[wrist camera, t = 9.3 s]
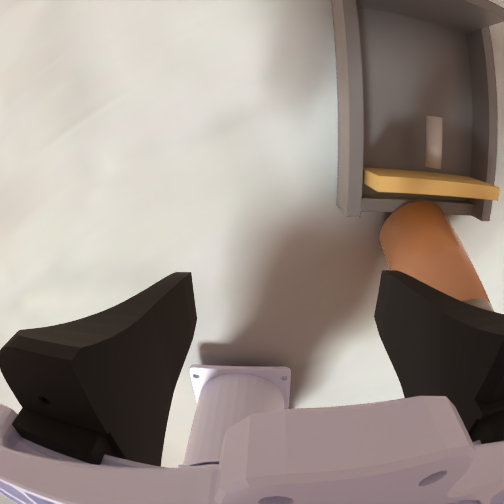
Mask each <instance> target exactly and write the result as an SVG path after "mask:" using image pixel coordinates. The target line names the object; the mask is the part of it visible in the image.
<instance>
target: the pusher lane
mask: <svg viewBox="0 0 504 504" xmlns="http://www.w3.org/2000/svg"><path fill="white" fill-rule="evenodd" d="M331 2H332V13H333V24H334V36H335V51H336V69H337V94H338V184H337V206H338V207H339V208H340V209H341V210H342V211H343V213H344V214H345V215H346V216H347V217H360V215H361V211H367V212H394V211H395V210H397V209H398V208H400V207H402V206H404V205H406V204H409V203H412V202H417V201H428V202H432V203H434V204H436V205H438V206H439V207H440V208H441V209H442V210H443V212H444V214H453V215H471V216H474V217H476V218H477V219H479V220H481V221H489V220H490V213H491V206H492V200H487V199H477V198H466V197H455V196H442V195H428V194H412V193H393V192H377V191H376V190H374V189H372V188H371V187H369V186H367V185H366V184H364V183H362V179H363V167H365V168H383V169H397V170H410V171H422V172H432V173H442V174H451V175H459V176H467V177H471V178H474V179H477V180H480V181H483V182H485V183H488V184H491V185H494V181H495V170H496V155H497V92H496V77H495V67H494V58H493V50H492V43H491V37H490V31H489V26H490V25H493V24H496V23H499V22H502V21H504V8H502V7H501V6H499V5H497V4H495V3H493V2H490V1H488V0H331ZM426 116H434V117H440V118H442V158H441V169H435V168H429V167H425V157H426Z"/></svg>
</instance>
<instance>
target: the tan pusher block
mask: <svg viewBox="0 0 504 504" xmlns="http://www.w3.org/2000/svg"><path fill="white" fill-rule="evenodd" d="M441 158H442V118H440V117H434V116H426V157H425V167H429V168H435V169H441ZM362 183H364V184H366V185H367V186H369V187H371V188H372V189H374V190H376V191H377V192H393V193H412V194H428V195H442V196H455V197H466V198H477V199H487V200H497V201H498V196H499V187H496V186H494V185H491V184H488V183H485V182H483V181H480V180H477V179H474V178H471V177H467V176H459V175H451V174H442V173H432V172H422V171H410V170H397V169H383V168H365V167H363V179H362Z"/></svg>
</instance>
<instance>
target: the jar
mask: <svg viewBox="0 0 504 504" xmlns="http://www.w3.org/2000/svg"><path fill="white" fill-rule="evenodd" d="M379 240H380V244H381V247H382V250H383V253H384V256H385V259H386V262H387V265H388V268H389V270H397V271H400V272H403V273H405V274H407V275H410V276H412V277H414V278H416V279H417V280H419V281H421V282H423V283H425V284H427V285H429V286H431V287H433V288H435V289H437V290H439V291H441V292H443V293H445V294H447V295H449V296H451V297H453V298H455V299H458V300H460V301H462V302H465V303H468V304H470V305H473V306H476V307H479V308H482V309H485V310H488V311H492V312H494V311H493V308H492V306H491V303H490V301H489V299H488V296H487V294H486V292H485V290H484V287H483V285H482V283H481V281H480V279H479V277H478V275H477V273H476V271H475V268H474V266H473V264H472V262H471V260H470V259H469V257H468V255H467V253H466V251H465V249H464V247H463V245H462V243H461V241H460V240H459V238H458V236H457V234H456V232H455V231H454V229H453V227H452V225H451V224H450V222H449V220H448V219H447V217H446V215H445V214H444V212H443V210H442V209H441V208H440V207H439V206H438V205H436V204H434V203H432V202H428V201H417V202H412V203H409V204H406V205H404V206H402V207H400V208H398V209H397V210H395V211H394V212H393V213H392V214H391V215H390V216H389V217H388V218H387V219H386V221H385V222H384V224H383V225H382V228H381V230H380V235H379Z"/></svg>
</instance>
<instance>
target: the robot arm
mask: <svg viewBox="0 0 504 504" xmlns="http://www.w3.org/2000/svg"><path fill="white" fill-rule="evenodd" d="M374 317H375V321H376V325H377V328H378V331H379V335H380V338H381V340H382V342H383V344H384V347H385V349H386V351H387V353H388V356H389V358H390V360H391V362H392V364H393V367H394V369H395V371H396V373H397V376H398V378H399V381H400V383H401V386H402V389H403V393H404V397H405V398H403V399H397V400H390V401H383V402H375V403H367V404H358V405H348V406H336V407H321V408H300V409H288V408H289V395H290V382H291V369H290V368H289V367H285V366H281V367H251V366H215V365H196V364H195V365H191V367H190V369H189V372H190V376H191V381H192V386H193V390H194V395H195V399H196V403H197V408H196V412H195V416H194V420H193V424H192V428H191V433H190V437H189V441H188V445H187V450H186V454H185V458H184V463H183V465H179V466H178V468H166V467H161V458H162V451H163V444H164V438H165V432H166V426H167V421H168V416H169V411H170V406H171V402H172V397H173V393H174V389H175V386H176V383H177V380H178V377H179V375H180V372H181V369H182V367H183V364H184V361H185V359H186V356H187V353H188V351H189V348H190V345H191V342H192V340H193V335H194V331H195V326H196V321H197V315H196V308H195V300H194V292H193V284H192V276H191V272H175V273H173V274H171V275H169V276H167V277H165V278H164V279H162V280H160V281H159V282H157V283H155V284H154V285H152V286H150V287H149V288H147V289H146V290H144V291H142V292H140V293H139V294H137V295H135V296H133V297H131V298H130V299H128V300H126V301H124V302H122V303H120V304H118V305H116V306H114V307H112V308H109V309H107V310H105V311H102V312H100V313H97V314H94V315H91V316H88V317H85V318H82V319H79V320H76V321H72V322H68V323H64V324H59V325H55V326H49V327H42V328H34V329H26V330H19V331H18V332H17V333H16V334H15V335H14V336H13V337H12V338H11V339H10V340H9V341H8V342H7V343H6V344H5V345H4V346H3V347H2V349H1V350H0V369H1V372H2V374H3V376H4V378H5V380H6V382H7V383H8V385H9V387H10V388H11V390H12V392H13V393H14V395H15V397H16V398H17V400H18V401H19V403H20V404H21V406H22V407H23V408H22V410H21V411H20V412H19V414H17V413H16V412H15V411H14V410H12V409H11V408H9V407H7V406H5V405H3V404H0V494H2V495H3V496H5V497H6V498H8V499H10V500H11V501H13V502H15V503H16V504H504V314H500V313H496V312H492V311H488V310H485V309H482V308H479V307H476V306H473V305H470V304H468V303H465V302H462V301H460V300H458V299H455V298H453V297H451V296H449V295H447V294H445V293H443V292H441V291H439V290H437V289H435V288H433V287H431V286H429V285H427V284H425V283H423V282H421V281H419V280H417V279H416V278H414V277H412V276H410V275H407V274H405V273H403V272H400V271H397V270H387V271H382V274H381V281H380V287H379V293H378V299H377V304H376V310H375V315H374ZM195 374H198V375H195ZM283 376H286V377H283Z"/></svg>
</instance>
